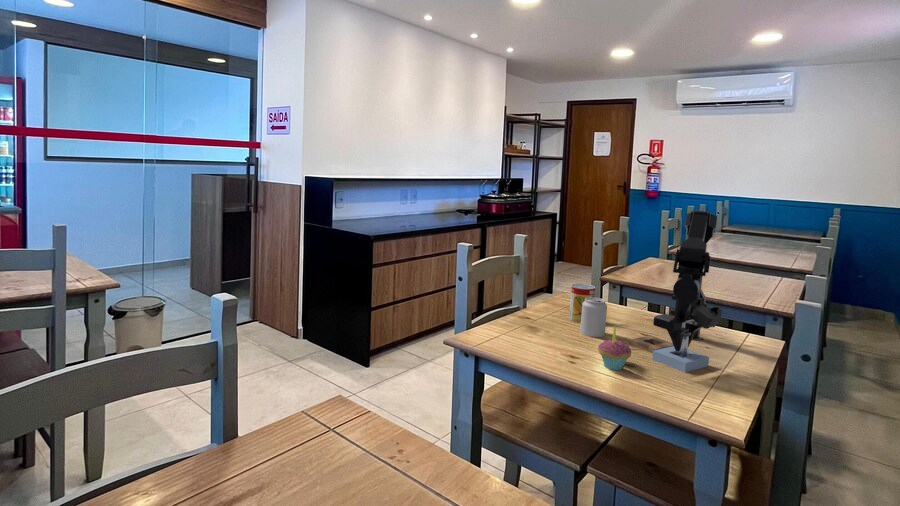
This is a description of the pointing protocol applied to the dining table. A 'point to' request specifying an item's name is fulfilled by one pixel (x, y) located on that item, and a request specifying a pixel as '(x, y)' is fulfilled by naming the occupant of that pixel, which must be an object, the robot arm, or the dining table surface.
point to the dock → (680, 359)
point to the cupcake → (614, 353)
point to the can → (593, 317)
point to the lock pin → (684, 345)
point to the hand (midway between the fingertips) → (681, 349)
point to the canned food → (579, 299)
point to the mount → (650, 343)
